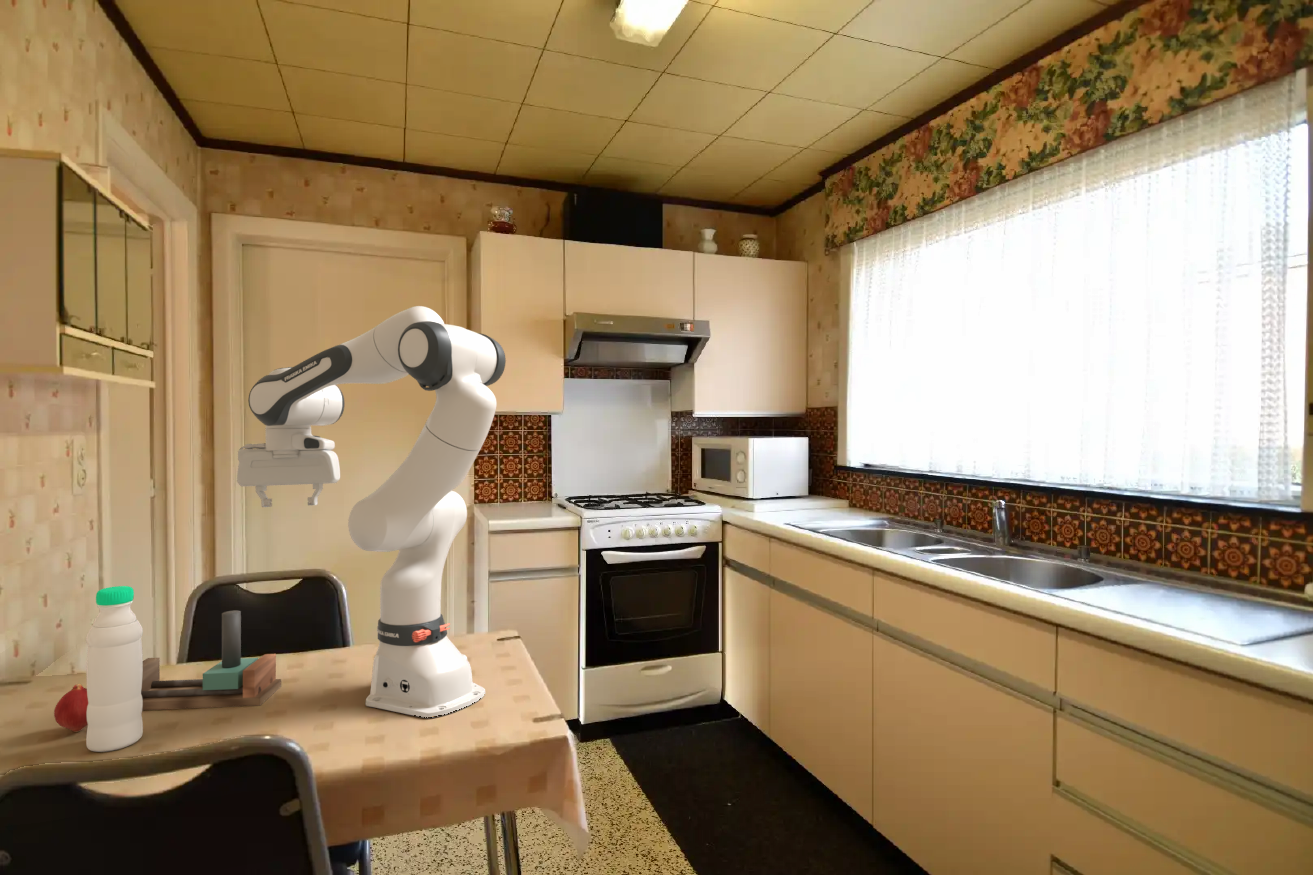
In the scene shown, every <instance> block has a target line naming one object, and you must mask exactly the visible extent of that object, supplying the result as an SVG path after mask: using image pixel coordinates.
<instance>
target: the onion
mask: <svg viewBox="0 0 1313 875" xmlns="http://www.w3.org/2000/svg"><path fill="white" fill-rule="evenodd" d="M87 706H88V696H87V687H84V686H83V685H82V684H81V683H75V684H74V685H73V686H72V689H71V690H69V691H68V692H66V693H65V694H64V695H63V696H62V697H61V698H60V699H59V700H58V701H57V703H56V705H55V707H54V710H53V717H54V720H55V721H56V723H57V724H58V725H59V726H61V727H62V728H65V729H68V730H70V731H71V732H74V733H78V732H80V731H82V730H83V729H84V728H85V727H88V723H87Z"/></svg>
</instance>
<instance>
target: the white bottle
mask: <svg viewBox="0 0 1313 875" xmlns="http://www.w3.org/2000/svg"><path fill="white" fill-rule="evenodd" d="M134 596H135V592H134V589H133V587H131V586H128V585H118V586H117V585H116V586H115V585H114V586H110V587H105V588H101V589H99V590H97V592H96V594H95V603H96V607H97V608H98V609H99V613H98V615H97V616H96V617H95V619H94V621H93V624H92V625H91V626H90V629H89V630H88V632H87V634H86V640H85V641H86V644H87V653H86V654H87V655H86V689H87V696H88V706H87V723H88V725H87V727H86V728H87V729H86V740H85V742H86V748H87V749H88V750H90V751H91V752H94V753H95V752H97V753H106V752H112V751H117V750H120V749H123V748H127V747H130V746H131V745H134V744H135V743H136V742H138V741H139V740H140V739H141V738H142V736H143V732H144V725H143V724H144V723H143V717H142V716H143V715H142V714H143V710H142V707H143V700H142V695H141V689H142V675H143V661H144V660H143V656H144V655H143V643H142V636H143V632H144V629H143V627H142V624H141V623H140V621H139V620H138V619H137V615H136V614H135V613H134V611H132V609H131V605H132V603H133V600H134Z"/></svg>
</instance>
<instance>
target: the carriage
mask: <svg viewBox="0 0 1313 875" xmlns="http://www.w3.org/2000/svg"><path fill="white" fill-rule="evenodd" d="M241 614H242V611H241V610H228V611H224V612H222V613H221V661H220V662H218V663H217V664H215V665H213V666H212V667H211V668H209V669H208V670H206V671H205V672H203V673H202V679H203V690H222V689H238V688H240V687H241V686H242V685H243V670H244V669H246V668H247V667H248V666H250V665H251V664H252V663H254V662H255V661H256V660H258V659H259V657H242V652H241V651H242V650H241V649H242V648H241V647H242V645H241V644H242V640H241V637H242V635H241V634H242V627H241V625H242V623H241V622H242V615H241Z"/></svg>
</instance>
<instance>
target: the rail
mask: <svg viewBox="0 0 1313 875" xmlns="http://www.w3.org/2000/svg"><path fill="white" fill-rule="evenodd" d="M160 660H161V659H160V657H147V658H145V659H144V660H143V675H142V689H141V695H142V700H143V707H142V711H152V710H155V711H156V710H177V709H178V710H179V709H180V710H182V709H183V710H185V709H203V708H204V709H207V708H227V707H230V708H231V707H252V706H253V707H254V706H261V705H262V704H264V703H265V702H266V701H267V700H268V699H269V698H271V697H272V695H274V693H276V692H278V690H279V689H281V687H282V678H277V664H276V663H277V654H276V653H264V654H263V655H262V656H261V657H258V660H256V661H255V662H254V663H252V664H251V665H250V666H248V667H247V668H246V669H244V670H243V685H242V686H241V687H240V688H238V689H222V690H203V678H201V679H200V678H199V679H196V678H195V679H194V678H193V679H171V680H170V679H169V680H161V679H160V678H161V677H160V676H161V675H160V667H161V666H160V662H161V661H160Z"/></svg>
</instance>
